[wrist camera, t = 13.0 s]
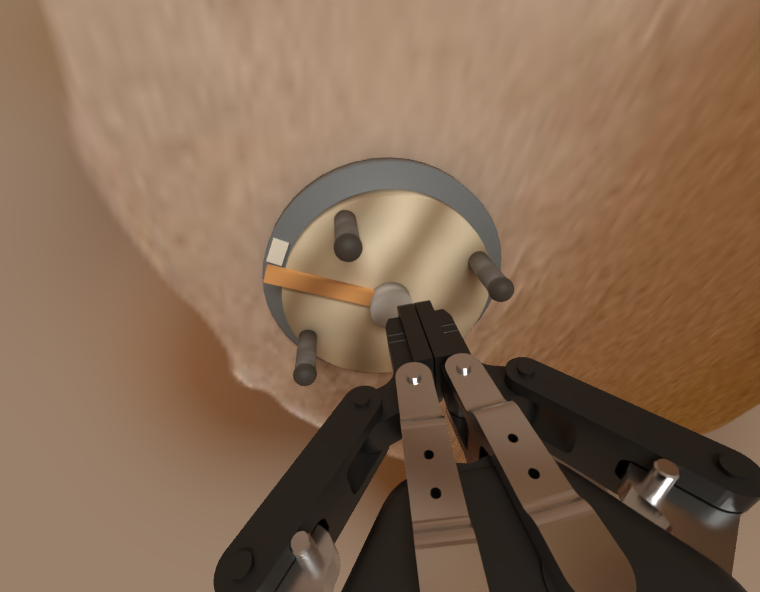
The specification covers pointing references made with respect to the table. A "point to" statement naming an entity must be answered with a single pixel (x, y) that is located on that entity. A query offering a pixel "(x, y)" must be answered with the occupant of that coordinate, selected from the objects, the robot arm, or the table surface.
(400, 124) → the table surface
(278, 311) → the dial base
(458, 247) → the capstan dial
